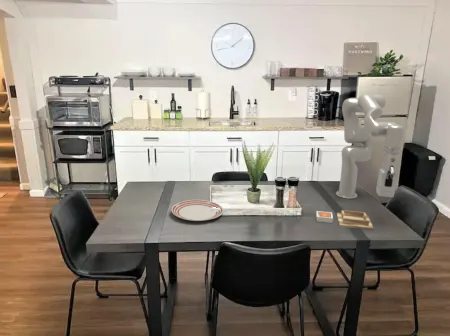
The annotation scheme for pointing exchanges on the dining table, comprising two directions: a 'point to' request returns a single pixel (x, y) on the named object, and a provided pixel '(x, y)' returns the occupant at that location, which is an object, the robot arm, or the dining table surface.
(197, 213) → the dinner plate
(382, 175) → the supplement box
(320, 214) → the button
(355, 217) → the pallet
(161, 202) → the dining table surface
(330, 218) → the button housing
